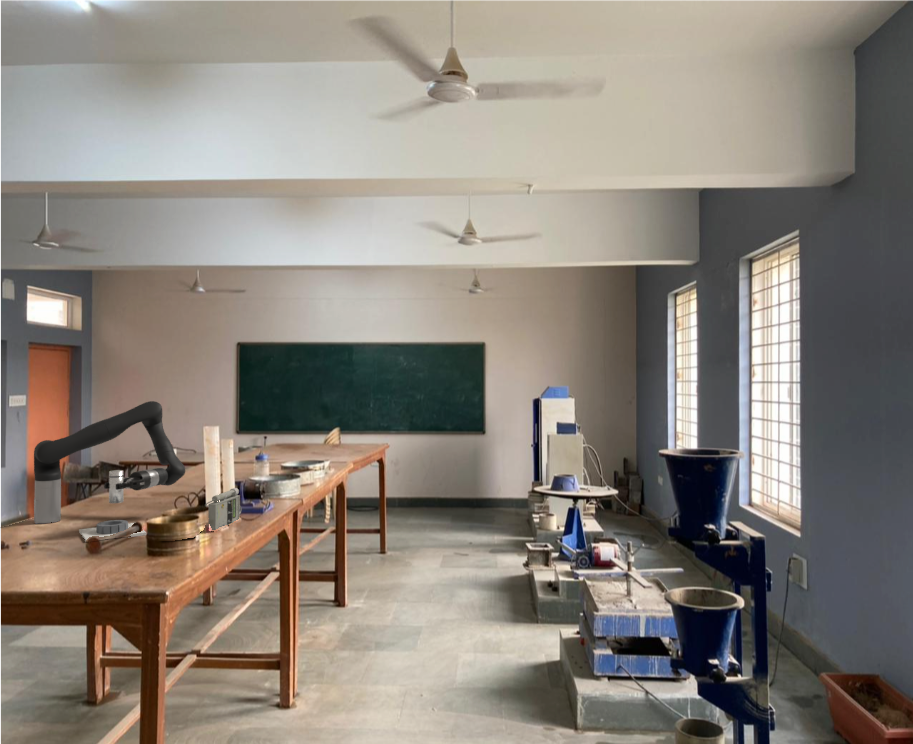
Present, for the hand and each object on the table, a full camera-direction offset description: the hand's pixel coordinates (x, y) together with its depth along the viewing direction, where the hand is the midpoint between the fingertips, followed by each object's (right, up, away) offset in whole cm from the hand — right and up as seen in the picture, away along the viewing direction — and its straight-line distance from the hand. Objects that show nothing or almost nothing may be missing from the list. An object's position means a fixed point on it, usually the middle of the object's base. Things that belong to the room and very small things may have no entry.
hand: (110, 486), depth 255 cm
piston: (+1, -6, +2) cm, 7 cm away
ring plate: (+1, -18, -1) cm, 18 cm away
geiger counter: (+39, -18, +15) cm, 46 cm away
